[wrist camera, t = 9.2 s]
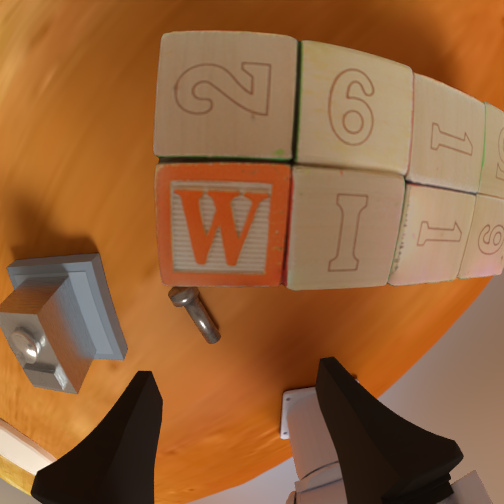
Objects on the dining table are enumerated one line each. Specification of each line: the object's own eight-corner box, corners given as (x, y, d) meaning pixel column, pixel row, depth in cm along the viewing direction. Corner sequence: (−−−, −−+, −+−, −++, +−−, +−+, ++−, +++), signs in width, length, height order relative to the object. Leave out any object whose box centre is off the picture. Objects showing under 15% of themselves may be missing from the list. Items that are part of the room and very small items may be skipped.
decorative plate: (-25, 442, 28) (-48, 399, 22) (-20, 431, 32) (-39, 384, 25) (61, 494, 36) (65, 474, 29) (64, 482, 39) (70, 456, 32)
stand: (128, 348, 22) (123, 360, 21) (49, 344, 22) (43, 354, 20) (99, 252, 19) (91, 261, 17) (16, 259, 18) (6, 267, 17)
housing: (96, 350, 20) (74, 402, 15) (56, 347, 20) (30, 393, 15) (69, 275, 18) (30, 322, 12) (27, 277, 17) (-13, 318, 12)
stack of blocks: (465, 142, 18) (583, 173, 7) (455, 211, 20) (562, 272, 9) (200, 96, 16) (155, 26, 4) (197, 192, 18) (155, 292, 7)
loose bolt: (225, 329, 22) (226, 346, 20) (202, 337, 22) (201, 354, 21) (194, 276, 20) (192, 290, 18) (170, 286, 20) (166, 301, 18)
